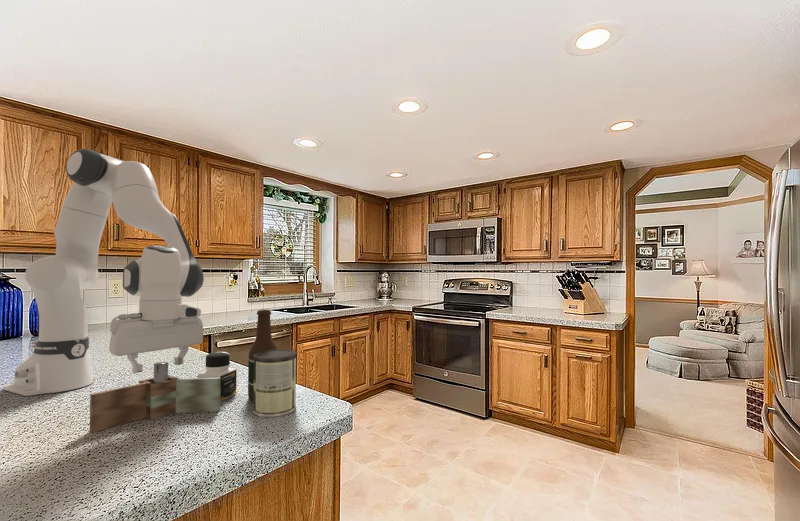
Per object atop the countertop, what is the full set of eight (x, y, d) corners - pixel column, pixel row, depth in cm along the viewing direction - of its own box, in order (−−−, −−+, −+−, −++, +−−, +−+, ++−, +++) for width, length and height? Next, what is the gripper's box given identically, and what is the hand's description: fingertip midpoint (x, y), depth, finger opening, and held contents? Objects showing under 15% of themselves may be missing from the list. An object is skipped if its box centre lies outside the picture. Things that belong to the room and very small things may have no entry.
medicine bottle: (220, 401, 104) (221, 356, 104) (196, 400, 105) (197, 355, 106) (236, 393, 111) (237, 351, 111) (214, 392, 112) (215, 349, 113)
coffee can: (245, 409, 98) (246, 353, 98) (283, 400, 105) (284, 347, 106) (264, 421, 91) (265, 359, 91) (303, 410, 98) (304, 353, 98)
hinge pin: (149, 414, 95) (150, 364, 95) (160, 409, 98) (161, 361, 98) (160, 415, 94) (160, 365, 94) (170, 411, 97) (171, 362, 97)
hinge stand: (190, 399, 105) (191, 369, 106) (221, 410, 97) (222, 377, 98) (84, 428, 86) (85, 392, 86) (112, 445, 78) (113, 404, 78)
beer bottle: (260, 405, 101) (261, 312, 102) (241, 399, 105) (242, 310, 106) (284, 396, 108) (284, 309, 109) (265, 392, 112) (266, 308, 113)
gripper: (117, 316, 86) (115, 379, 85) (207, 309, 103) (205, 362, 102) (105, 314, 89) (103, 375, 89) (194, 307, 106) (192, 359, 106)
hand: (158, 368), depth 96 cm, fingers open, 8 cm apart
